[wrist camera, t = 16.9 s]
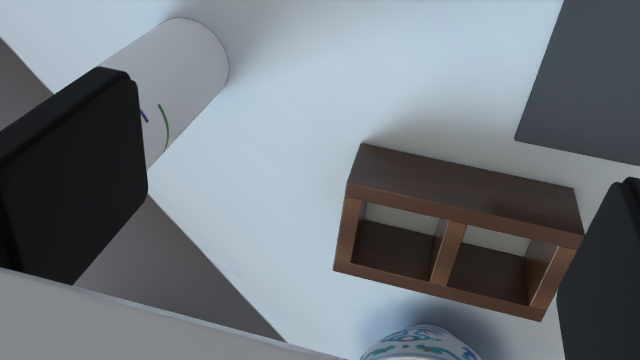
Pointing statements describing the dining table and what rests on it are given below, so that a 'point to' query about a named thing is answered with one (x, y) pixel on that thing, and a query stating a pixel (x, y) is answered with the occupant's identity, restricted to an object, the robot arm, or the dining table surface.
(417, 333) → the chinaware
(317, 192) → the dining table surface
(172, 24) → the cylindrical container
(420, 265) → the caddy
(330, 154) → the dining table surface
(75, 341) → the robot arm
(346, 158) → the dining table surface
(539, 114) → the mat
